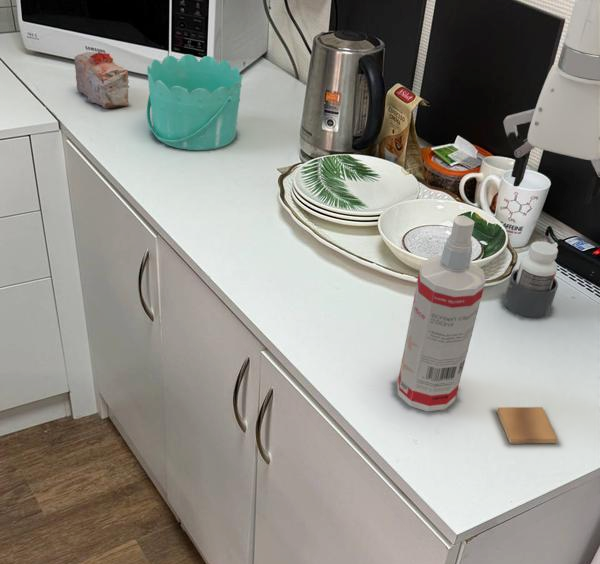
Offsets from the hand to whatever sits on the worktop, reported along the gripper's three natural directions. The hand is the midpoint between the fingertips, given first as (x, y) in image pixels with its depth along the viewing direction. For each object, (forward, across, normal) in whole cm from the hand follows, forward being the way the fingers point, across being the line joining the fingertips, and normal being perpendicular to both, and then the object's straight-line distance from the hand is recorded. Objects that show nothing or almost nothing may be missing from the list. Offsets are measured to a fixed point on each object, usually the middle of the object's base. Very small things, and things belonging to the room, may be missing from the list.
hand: (552, 191), depth 110 cm
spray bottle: (+20, +6, +26) cm, 33 cm away
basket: (+20, +75, -30) cm, 83 cm away
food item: (+20, +101, -35) cm, 108 cm away
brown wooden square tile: (+20, -7, +26) cm, 34 cm away
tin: (+20, -1, -2) cm, 20 cm away
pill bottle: (+20, -1, -2) cm, 20 cm away
